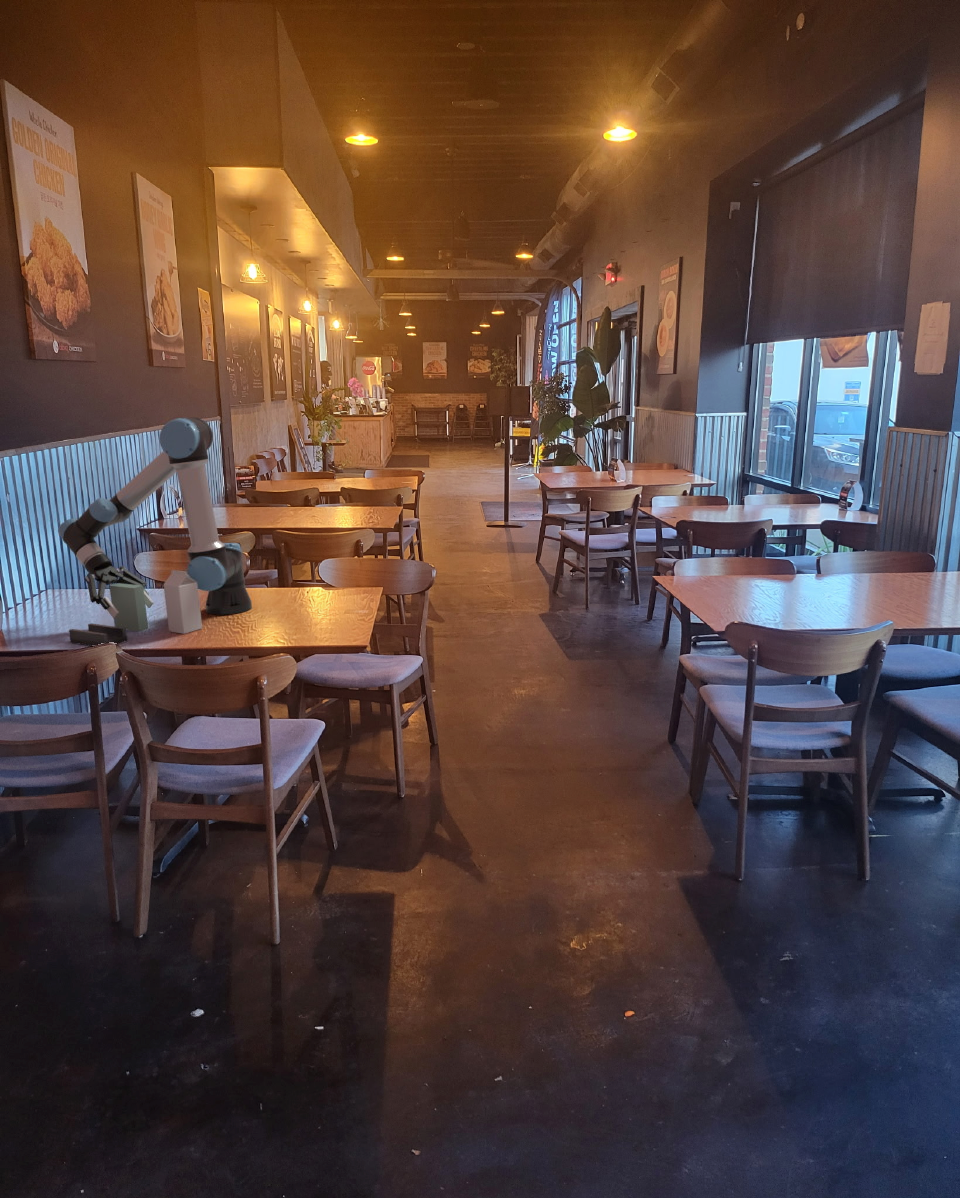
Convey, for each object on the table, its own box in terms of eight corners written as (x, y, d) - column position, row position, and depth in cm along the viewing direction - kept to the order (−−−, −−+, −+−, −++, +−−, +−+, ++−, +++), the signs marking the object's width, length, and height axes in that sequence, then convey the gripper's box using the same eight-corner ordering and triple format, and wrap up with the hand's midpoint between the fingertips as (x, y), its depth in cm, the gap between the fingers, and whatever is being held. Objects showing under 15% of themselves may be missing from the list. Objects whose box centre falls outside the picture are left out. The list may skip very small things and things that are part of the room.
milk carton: (184, 634, 261) (177, 574, 256) (168, 631, 264) (161, 572, 260) (202, 628, 266) (195, 569, 262) (187, 626, 270) (180, 567, 266)
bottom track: (127, 640, 255) (125, 628, 254) (105, 648, 249) (103, 635, 248) (93, 635, 262) (91, 623, 261) (70, 642, 255) (68, 629, 254)
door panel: (148, 628, 268) (142, 585, 265) (139, 631, 265) (133, 588, 262) (124, 625, 273) (118, 583, 270) (115, 628, 270) (109, 585, 267)
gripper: (122, 560, 283) (159, 608, 279) (55, 576, 261) (96, 627, 258) (131, 546, 279) (169, 594, 276) (65, 560, 257) (105, 612, 254)
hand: (134, 610), depth 267 cm, fingers open, 13 cm apart
